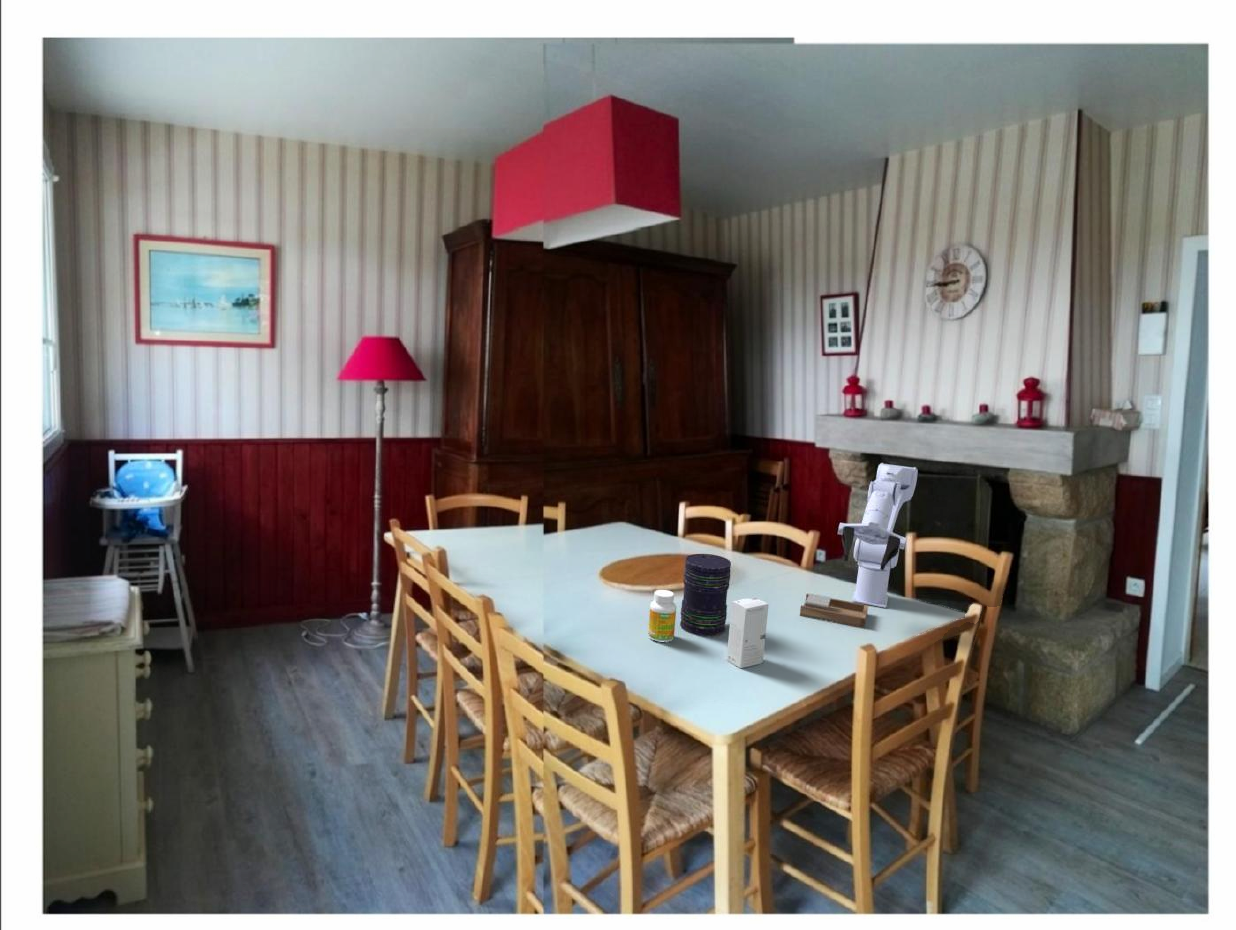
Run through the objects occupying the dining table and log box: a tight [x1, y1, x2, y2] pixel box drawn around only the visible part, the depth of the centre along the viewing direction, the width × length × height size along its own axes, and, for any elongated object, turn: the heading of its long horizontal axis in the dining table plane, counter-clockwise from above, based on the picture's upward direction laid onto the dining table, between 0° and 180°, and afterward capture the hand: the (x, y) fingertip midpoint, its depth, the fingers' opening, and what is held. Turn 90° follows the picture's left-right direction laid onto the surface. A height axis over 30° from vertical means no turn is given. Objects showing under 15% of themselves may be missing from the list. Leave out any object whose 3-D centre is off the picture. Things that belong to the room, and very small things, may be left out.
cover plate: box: [804, 593, 832, 611], centre depth 168 cm, size 6×5×2 cm
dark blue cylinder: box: [679, 553, 732, 637], centre depth 154 cm, size 10×10×15 cm
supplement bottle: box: [647, 589, 677, 643], centre depth 148 cm, size 5×5×10 cm
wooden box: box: [799, 593, 869, 629], centre depth 167 cm, size 10×14×2 cm
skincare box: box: [726, 597, 769, 669], centre depth 139 cm, size 6×4×12 cm
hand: (864, 562), depth 158 cm, fingers open, 7 cm apart
